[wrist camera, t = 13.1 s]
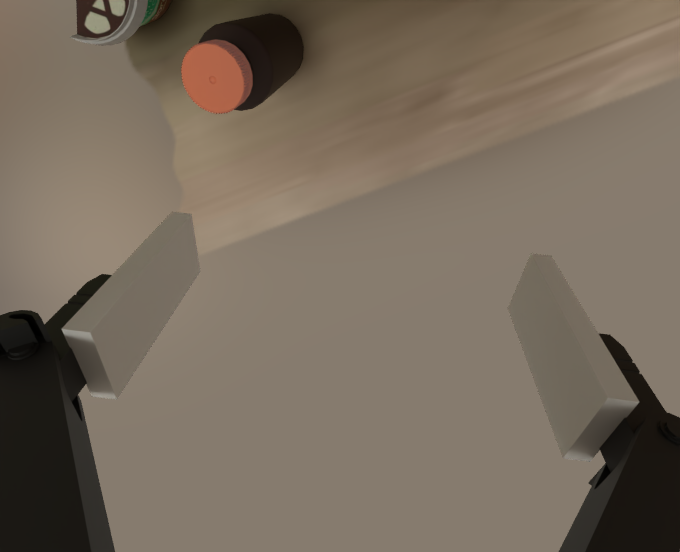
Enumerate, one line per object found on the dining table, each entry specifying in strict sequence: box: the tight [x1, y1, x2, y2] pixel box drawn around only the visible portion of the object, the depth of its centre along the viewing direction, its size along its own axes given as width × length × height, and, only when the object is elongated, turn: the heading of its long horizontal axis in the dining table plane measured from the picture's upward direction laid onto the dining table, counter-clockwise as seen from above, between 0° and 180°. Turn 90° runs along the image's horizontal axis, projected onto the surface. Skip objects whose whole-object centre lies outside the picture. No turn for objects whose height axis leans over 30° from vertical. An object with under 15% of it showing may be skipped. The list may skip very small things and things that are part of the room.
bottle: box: [181, 14, 303, 114], centre depth 38 cm, size 7×7×20 cm
